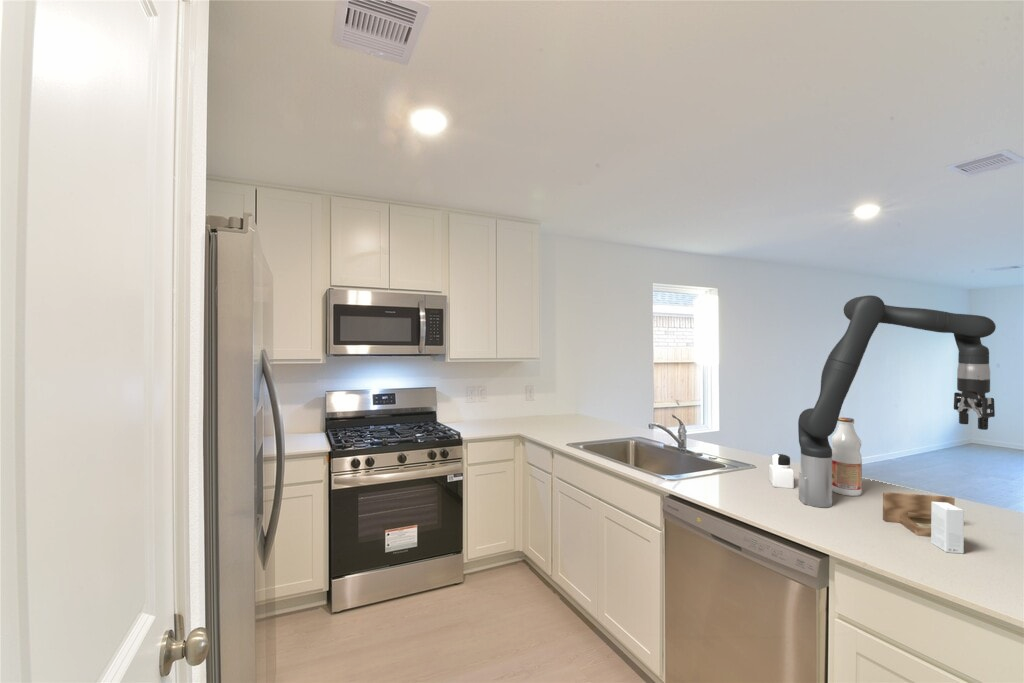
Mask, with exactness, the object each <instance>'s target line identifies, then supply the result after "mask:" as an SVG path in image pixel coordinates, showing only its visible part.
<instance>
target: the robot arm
mask: <svg viewBox="0 0 1024 683" xmlns="http://www.w3.org/2000/svg"><path fill="white" fill-rule="evenodd" d="M843 314H844V316H845V318H846V319H848V320H849V324H848V326H847V329H846V331H845V333H844V334H843V336H842V337H841V339H840V340H838V342H837V343H836V345H835V346H834V347H833V348H832V350H831V351H830V353H829V354H828V356H827V359H826V361H825V363H824V366H823V368H822V371H821V378H820V392H819V394H818V398H817V401H816V402H815V405H814V407H811V408H807V409H804V410H803V411H801V413H800V414H799V417H798V422H797V424H798V425H797V428H798V429H797V430H798V431H797V432H798V444H799V448H800V472H798V499H799V500H800V502H801V503H803V505H808V506H811V507H817V508H831V507H832V506H833V491H832V449H833V448H832V447H831V445H830V442H829V436H831V435H832V434H833V433H834V432H835V431H836V428H837V424H838V423H839V422H838V418H840V414H841V410H842V407H843V404H844V402H845V399H846V398H847V395H848V393H849V390H850V389H851V387H852V384H853V382H854V379H855V377H856V375H857V373H858V371H859V368H860V365H861V362H862V360H863V358H864V356H865V352H866V351H867V347H868V345H869V344H870V340H871V338H872V336H873V334H874V333H875V331H876V329H877V327H878V325H879V324H888V325H894V326H900V327H901V326H902V327H906V328H912V329H916V330H922V331H928V332H935V333H942V334H953V336H954V340H955V343H956V347H957V349H958V359H957V360H958V365H957V373H956V376H957V378H956V380H957V381H956V382H957V383H956V385H957V386H956V389H957V391H958V392H954V394H953V410H956V412H957V413H958V423H959V424H960V425H968V424H969V416H970V414H969V411H971V409H972V410H973V412H975V413H976V415H977V429H979V430H985V431H988V429H989V419H990V418H995V416H996V413H995V412H996V410H995V398H994V397H986V394H988V393H991V368H990V350H989V348H988V346H985V345H983V343H982V341H981V338H986V337H989V336H991V335H992V334H994V332H996V329H997V328H996V327H997V326H996V323H995V322H994V320H992V319H991V318H989V317H987V316H983V315H979V314H977V315H975V314H969V313H968V314H966V313H965V314H964V313H956V312H955V313H953V312H949V311H944V310H943V311H942V310H937V309H929V308H920V307H919V308H918V307H907V306H906V307H904V306H895V305H887V304H885V302H884V300H883V299H882V298H881V297H879V296H877V295H862V296H857V297H854V298H851V299H850V300H848V301H847V302H846V303H845V305H844V306H843Z"/></svg>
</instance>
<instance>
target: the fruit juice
mask: <svg viewBox="0 0 1024 683" xmlns="http://www.w3.org/2000/svg"><path fill="white" fill-rule="evenodd" d="M837 423H838V426H837V429H836V430H835V431H836V432H835V433H834V434H833V435H832V436H831V442H830V443H831V445H832V448H831V449H832V492H834V493H836V494H839V495H842V496H848V497H849V496H850V497H859V496H861V495H862V491H863V489H862V488H863V477H862V476H863V461H862V460H863V458H862V454H861V448H862V441H861V439H860V437H859V435H858V434H857V432H856V430H855V427H854V424H855V419H854V418H851V417H841V416H839V418H838V422H837Z"/></svg>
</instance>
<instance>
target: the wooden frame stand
mask: <svg viewBox="0 0 1024 683" xmlns="http://www.w3.org/2000/svg"><path fill="white" fill-rule="evenodd" d="M931 502H945V503H949V504H951V505H954V506H956V504H955V498H954V497H953V496H947V495H945V496H944V495H930V494H919V493H918V494H916V493H915V494H914V493H903V492H901V493H900V492H890V491H889V492H888V491H882V520H883V522H887V523H894V524H895V523H897V524H900V525H902V526H903V527H904V528H906V529H907V530H909V531H910V532H912V533H913V534H914V535H916V536H918V537H929V538H931Z"/></svg>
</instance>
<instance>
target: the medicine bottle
mask: <svg viewBox="0 0 1024 683" xmlns="http://www.w3.org/2000/svg"><path fill="white" fill-rule="evenodd" d="M771 457H772V459H771V460H772V464H771V463H770V464H769V468H768V470H769V471H768V474H769V475H768V479H769V484H770V485H771V486H772V487H773V488H778V489H779V488H781V489H792V490H794V489H795V488H794V487H795V486H794V485H795V482H794V480H795V479H794V474H795V472H794V470H793V468H791V457H790V456H789V455H786V454H783V453H775V454H773V455H772V456H771Z"/></svg>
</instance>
